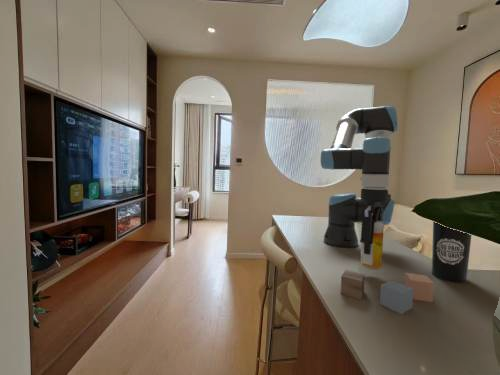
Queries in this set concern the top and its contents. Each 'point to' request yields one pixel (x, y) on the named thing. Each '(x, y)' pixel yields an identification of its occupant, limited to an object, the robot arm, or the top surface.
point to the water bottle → (450, 254)
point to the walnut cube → (352, 284)
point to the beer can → (375, 247)
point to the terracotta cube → (420, 286)
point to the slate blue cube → (396, 296)
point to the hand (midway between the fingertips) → (370, 260)
